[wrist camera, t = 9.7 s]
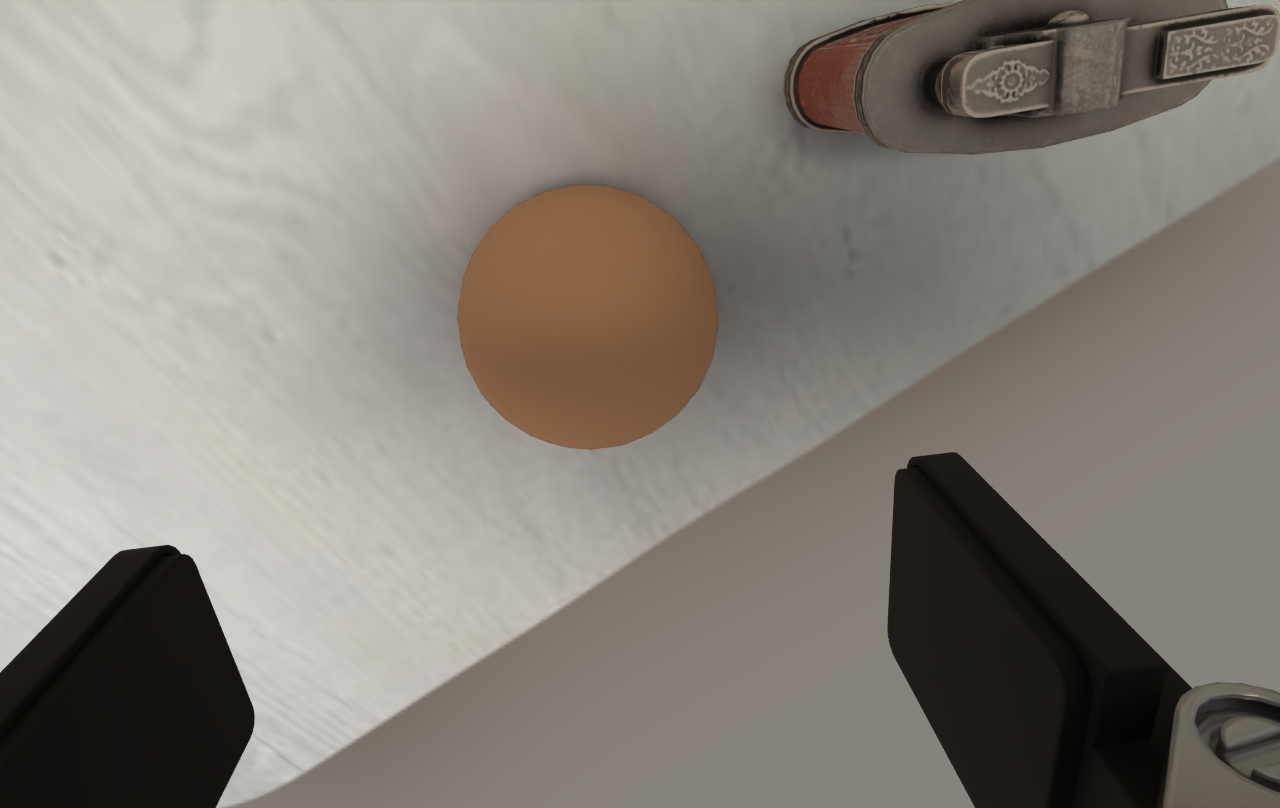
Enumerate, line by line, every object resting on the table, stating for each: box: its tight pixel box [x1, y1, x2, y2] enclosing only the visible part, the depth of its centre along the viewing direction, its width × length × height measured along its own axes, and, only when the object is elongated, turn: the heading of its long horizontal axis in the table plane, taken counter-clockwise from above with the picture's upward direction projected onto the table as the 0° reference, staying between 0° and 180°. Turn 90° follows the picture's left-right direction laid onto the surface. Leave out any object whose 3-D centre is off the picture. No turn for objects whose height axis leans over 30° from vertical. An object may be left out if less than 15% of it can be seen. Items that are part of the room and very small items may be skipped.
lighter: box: [784, 0, 1280, 155], centre depth 19 cm, size 8×3×10 cm, turn 99°
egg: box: [457, 185, 718, 450], centre depth 21 cm, size 7×7×8 cm
